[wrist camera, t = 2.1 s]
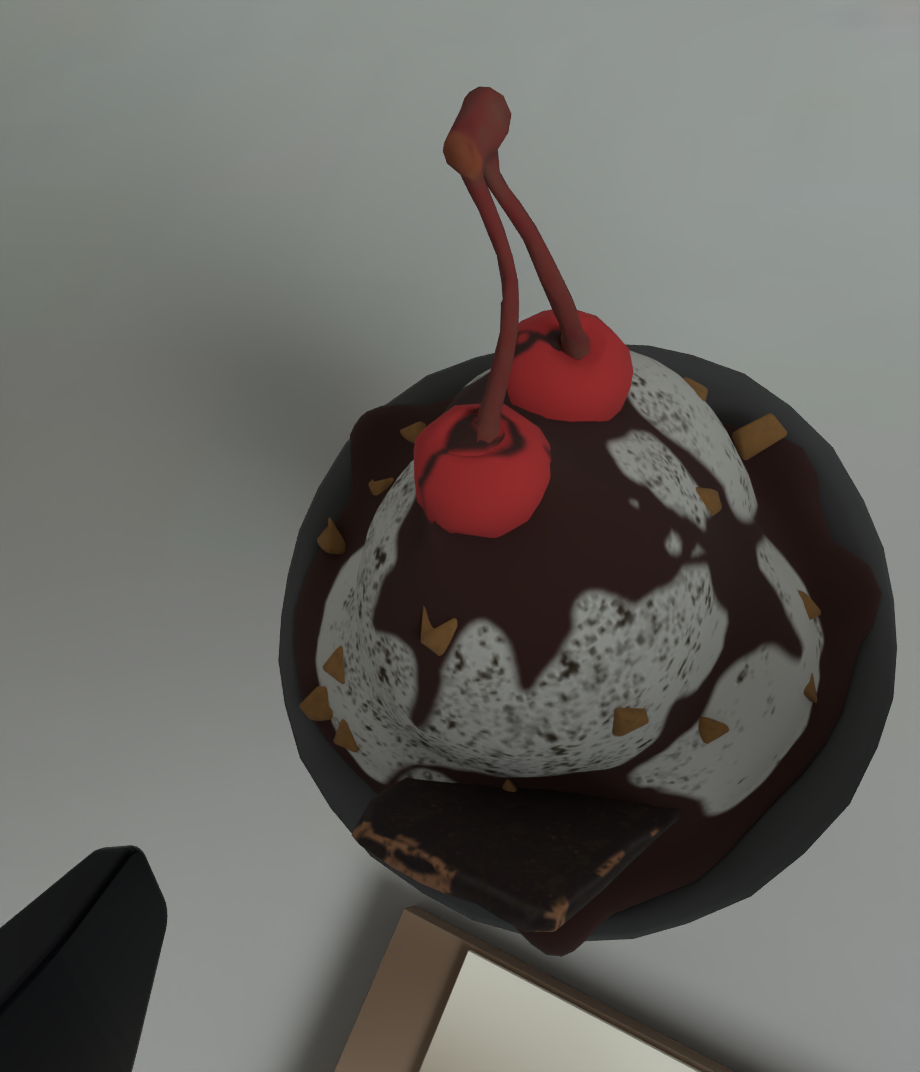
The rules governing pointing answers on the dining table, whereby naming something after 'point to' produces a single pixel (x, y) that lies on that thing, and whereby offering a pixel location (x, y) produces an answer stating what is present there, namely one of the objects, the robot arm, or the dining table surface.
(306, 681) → the sundae
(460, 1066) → the board
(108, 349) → the dining table surface
